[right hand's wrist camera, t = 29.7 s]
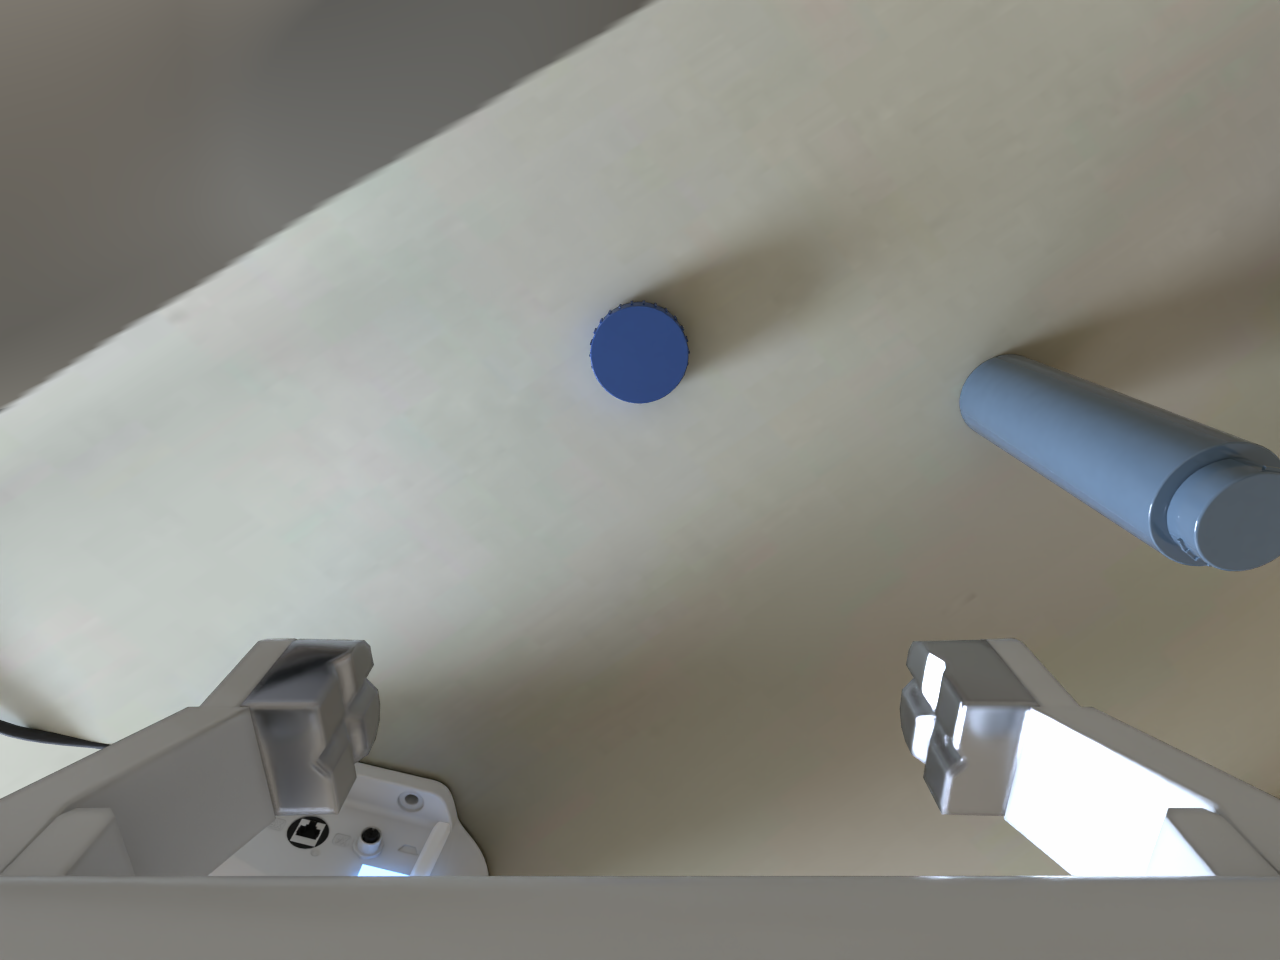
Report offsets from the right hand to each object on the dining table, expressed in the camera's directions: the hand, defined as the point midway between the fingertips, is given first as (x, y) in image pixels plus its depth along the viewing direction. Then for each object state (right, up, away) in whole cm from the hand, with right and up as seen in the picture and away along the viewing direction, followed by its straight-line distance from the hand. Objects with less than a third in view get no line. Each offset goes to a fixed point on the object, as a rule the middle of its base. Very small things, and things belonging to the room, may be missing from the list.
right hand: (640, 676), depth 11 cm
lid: (0, +9, +24) cm, 26 cm away
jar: (+19, +7, +27) cm, 34 cm away
